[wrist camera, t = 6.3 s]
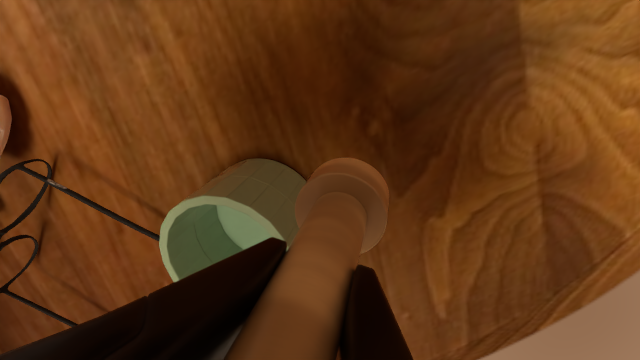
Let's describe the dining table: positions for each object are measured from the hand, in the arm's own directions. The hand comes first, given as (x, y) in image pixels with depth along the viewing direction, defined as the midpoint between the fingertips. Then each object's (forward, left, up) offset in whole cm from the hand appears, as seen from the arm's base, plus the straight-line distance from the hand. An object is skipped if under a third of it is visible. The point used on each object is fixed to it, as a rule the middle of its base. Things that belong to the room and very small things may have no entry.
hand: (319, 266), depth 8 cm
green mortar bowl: (-4, +9, -13) cm, 16 cm away
